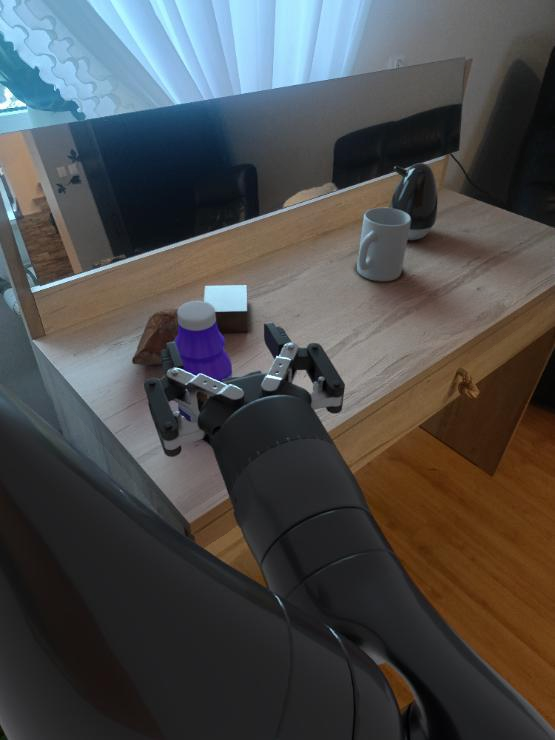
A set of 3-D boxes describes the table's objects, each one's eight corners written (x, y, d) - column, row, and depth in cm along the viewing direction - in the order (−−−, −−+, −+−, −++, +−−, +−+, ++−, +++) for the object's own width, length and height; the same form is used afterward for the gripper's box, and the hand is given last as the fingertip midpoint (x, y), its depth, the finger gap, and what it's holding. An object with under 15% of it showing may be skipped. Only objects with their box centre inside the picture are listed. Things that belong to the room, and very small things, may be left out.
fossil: (193, 303, 79) (181, 276, 70) (223, 342, 78) (216, 320, 68) (126, 350, 77) (105, 328, 68) (157, 391, 76) (139, 375, 66)
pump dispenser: (384, 223, 113) (395, 154, 103) (430, 227, 112) (446, 157, 102) (382, 242, 105) (394, 169, 96) (432, 247, 104) (449, 174, 94)
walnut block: (204, 333, 79) (202, 312, 77) (206, 305, 85) (205, 285, 83) (248, 331, 80) (247, 311, 77) (247, 305, 86) (246, 284, 83)
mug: (371, 256, 100) (378, 203, 93) (408, 269, 96) (420, 215, 89) (338, 278, 93) (344, 223, 86) (377, 294, 89) (387, 237, 82)
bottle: (243, 422, 64) (238, 309, 53) (214, 448, 61) (202, 333, 50) (202, 399, 68) (189, 288, 56) (172, 423, 64) (152, 309, 53)
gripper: (398, 415, 30) (298, 288, 42) (168, 479, 27) (128, 319, 38) (381, 489, 35) (295, 357, 47) (184, 553, 31) (144, 391, 43)
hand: (220, 340), depth 43 cm, fingers open, 8 cm apart
